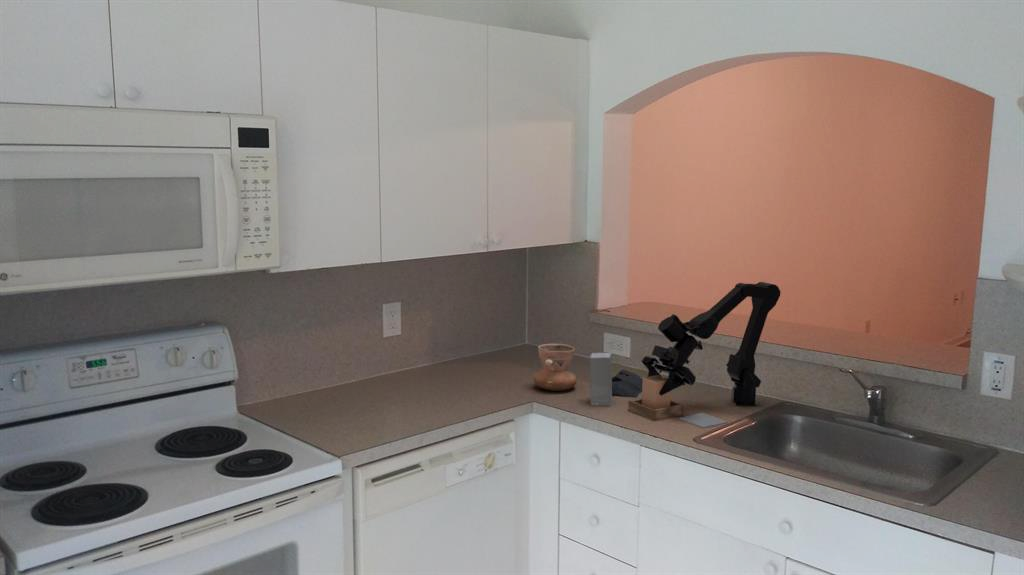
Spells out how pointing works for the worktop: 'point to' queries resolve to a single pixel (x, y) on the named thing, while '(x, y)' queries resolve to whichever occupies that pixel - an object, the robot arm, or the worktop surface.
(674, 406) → the brown wooden tray
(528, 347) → the worktop surface
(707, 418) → the rubber mat
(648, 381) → the lidded terracotta box
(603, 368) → the skincare box
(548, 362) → the brown clay vase
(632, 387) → the dark slate chunk
